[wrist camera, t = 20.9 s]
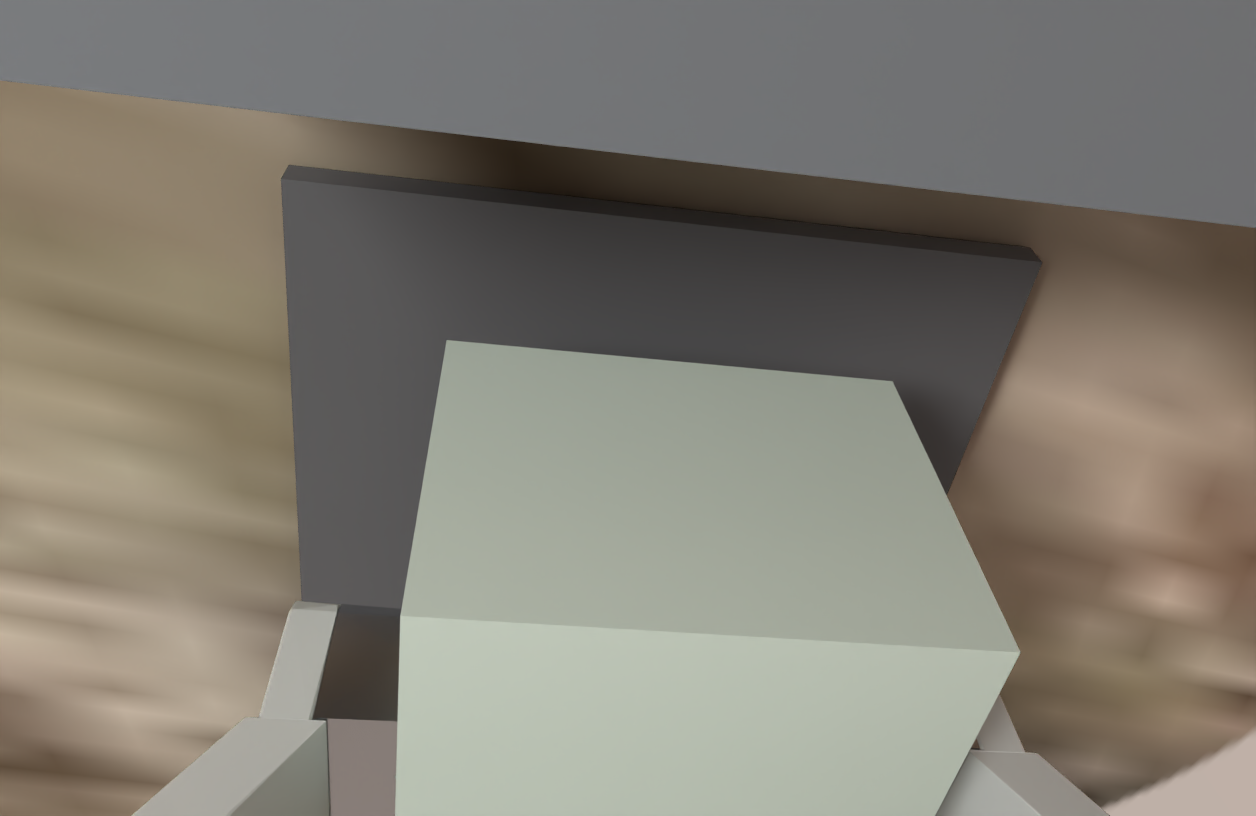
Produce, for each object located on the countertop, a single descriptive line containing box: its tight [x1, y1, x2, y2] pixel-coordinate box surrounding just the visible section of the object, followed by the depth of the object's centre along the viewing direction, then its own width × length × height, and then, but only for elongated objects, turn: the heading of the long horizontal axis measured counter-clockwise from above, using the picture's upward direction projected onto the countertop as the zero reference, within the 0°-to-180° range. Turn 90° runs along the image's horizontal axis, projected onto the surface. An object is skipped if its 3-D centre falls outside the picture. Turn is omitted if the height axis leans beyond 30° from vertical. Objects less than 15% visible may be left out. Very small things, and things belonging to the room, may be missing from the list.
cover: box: [395, 340, 1021, 816], centre depth 12 cm, size 7×5×4 cm
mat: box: [281, 165, 1042, 609], centre depth 15 cm, size 9×9×1 cm
